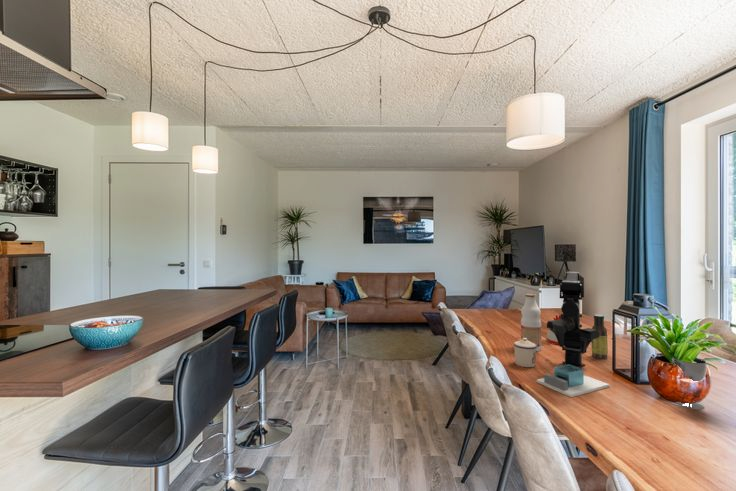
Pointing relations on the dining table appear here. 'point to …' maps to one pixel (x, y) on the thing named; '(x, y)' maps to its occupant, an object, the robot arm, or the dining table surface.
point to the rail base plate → (563, 388)
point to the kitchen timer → (552, 334)
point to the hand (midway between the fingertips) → (571, 350)
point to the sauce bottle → (599, 343)
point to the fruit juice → (531, 321)
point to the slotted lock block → (570, 374)
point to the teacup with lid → (525, 353)
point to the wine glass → (692, 376)
